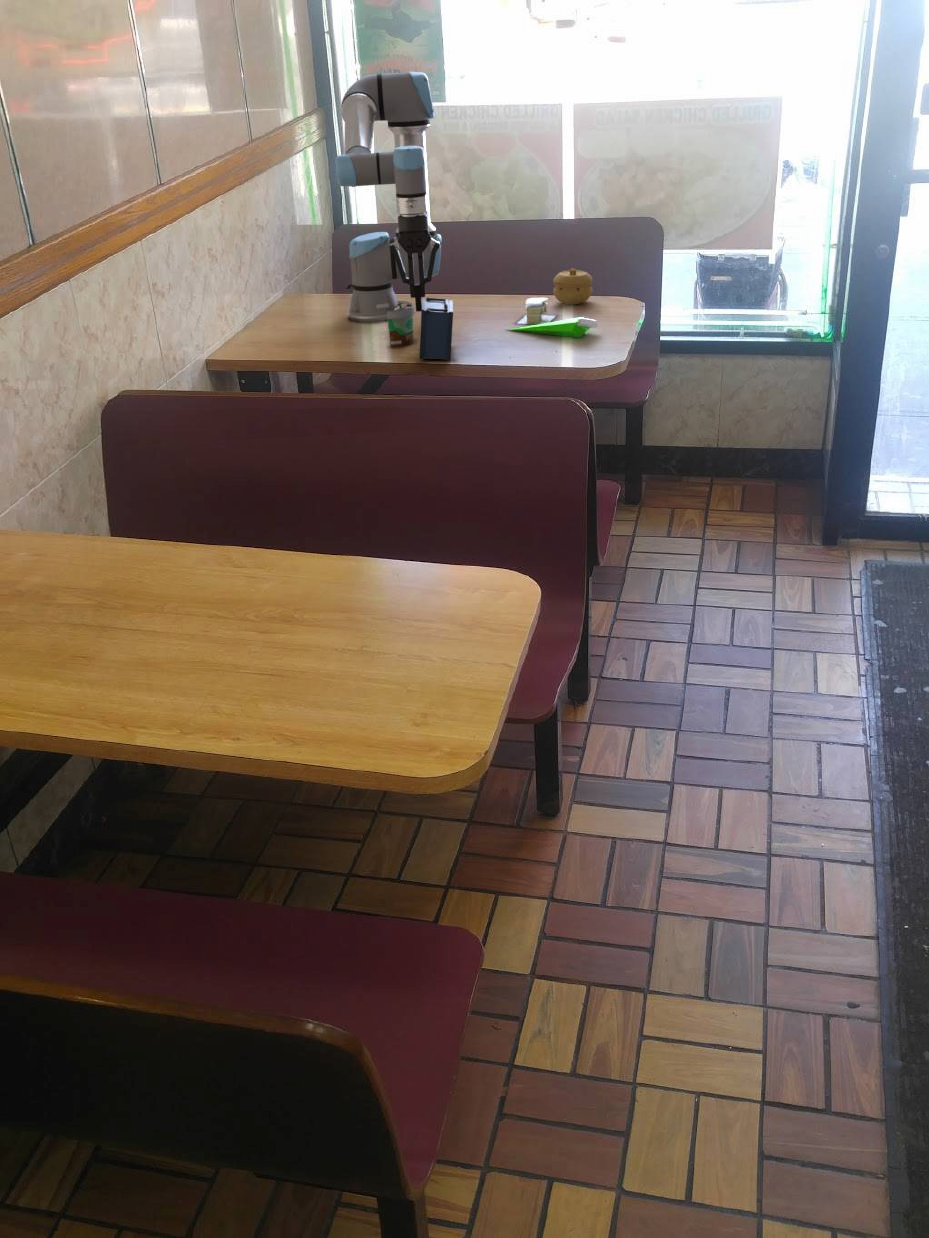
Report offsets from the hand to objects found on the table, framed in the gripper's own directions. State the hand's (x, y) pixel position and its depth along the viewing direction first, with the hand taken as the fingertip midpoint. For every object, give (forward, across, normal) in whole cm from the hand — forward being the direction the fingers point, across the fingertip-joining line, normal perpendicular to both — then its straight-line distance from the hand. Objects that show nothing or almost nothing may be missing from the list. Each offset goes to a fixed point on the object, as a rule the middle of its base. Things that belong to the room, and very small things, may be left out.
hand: (419, 310), depth 290 cm
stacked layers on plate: (+12, +32, +31) cm, 47 cm away
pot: (+12, +44, +49) cm, 67 cm away
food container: (+12, -5, +14) cm, 19 cm away
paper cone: (+12, +35, +13) cm, 40 cm away
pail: (+12, +3, 0) cm, 12 cm away
